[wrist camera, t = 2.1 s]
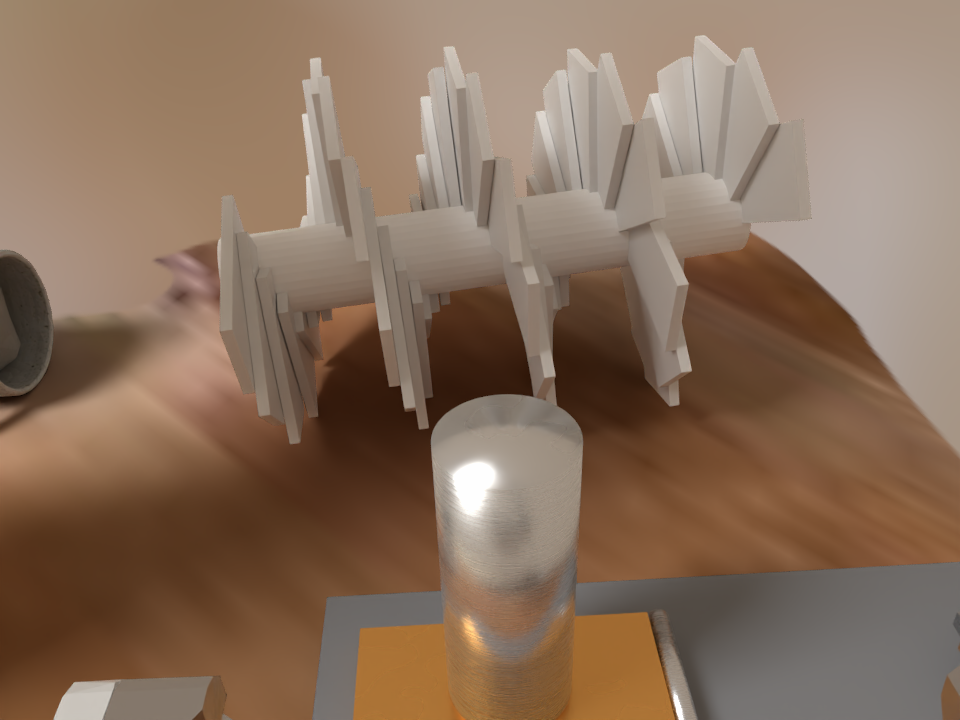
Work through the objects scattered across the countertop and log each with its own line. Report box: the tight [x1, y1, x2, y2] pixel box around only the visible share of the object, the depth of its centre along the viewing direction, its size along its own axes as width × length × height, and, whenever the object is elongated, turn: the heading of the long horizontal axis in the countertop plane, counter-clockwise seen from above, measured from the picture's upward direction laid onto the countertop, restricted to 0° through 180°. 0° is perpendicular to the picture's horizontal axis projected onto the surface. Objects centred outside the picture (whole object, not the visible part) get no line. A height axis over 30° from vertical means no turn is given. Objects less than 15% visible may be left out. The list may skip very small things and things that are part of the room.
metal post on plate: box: [353, 394, 698, 720], centre depth 27 cm, size 11×5×11 cm, turn 93°
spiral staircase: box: [217, 35, 812, 444], centre depth 44 cm, size 18×18×25 cm
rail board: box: [312, 562, 960, 720], centre depth 31 cm, size 25×10×2 cm, turn 93°
